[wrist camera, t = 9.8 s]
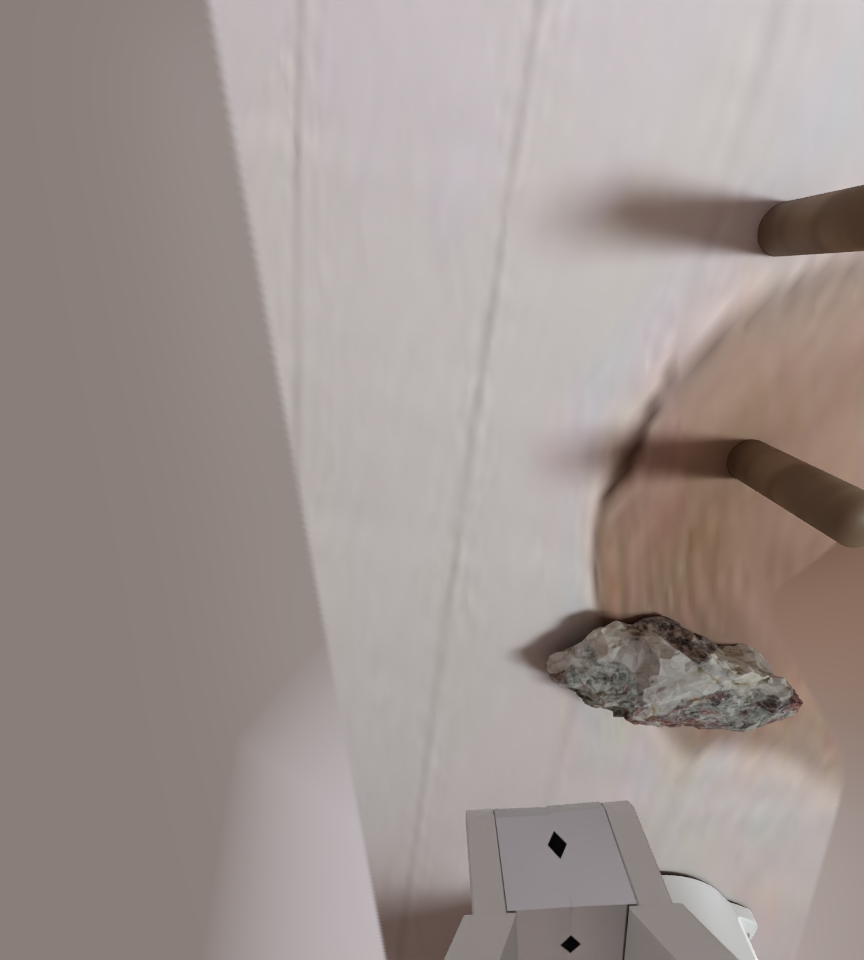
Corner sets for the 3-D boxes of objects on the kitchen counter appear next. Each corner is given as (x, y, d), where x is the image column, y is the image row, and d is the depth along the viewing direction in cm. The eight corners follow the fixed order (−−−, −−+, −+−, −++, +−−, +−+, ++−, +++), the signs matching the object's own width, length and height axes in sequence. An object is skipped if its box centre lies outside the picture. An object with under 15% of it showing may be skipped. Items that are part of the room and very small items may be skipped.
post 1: (803, 253, 25) (967, 242, 17) (754, 258, 25) (897, 249, 17) (812, 198, 24) (990, 162, 16) (761, 203, 24) (916, 169, 16)
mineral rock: (531, 669, 34) (547, 722, 30) (591, 578, 32) (616, 622, 28) (707, 729, 37) (743, 785, 33) (776, 649, 34) (824, 700, 30)
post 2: (765, 477, 29) (883, 544, 22) (724, 481, 29) (828, 550, 22) (772, 437, 28) (898, 494, 21) (729, 441, 28) (840, 499, 21)
